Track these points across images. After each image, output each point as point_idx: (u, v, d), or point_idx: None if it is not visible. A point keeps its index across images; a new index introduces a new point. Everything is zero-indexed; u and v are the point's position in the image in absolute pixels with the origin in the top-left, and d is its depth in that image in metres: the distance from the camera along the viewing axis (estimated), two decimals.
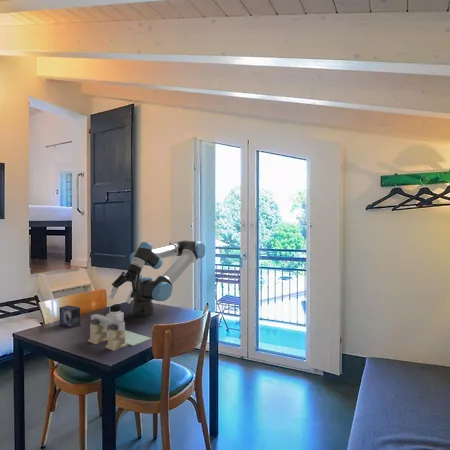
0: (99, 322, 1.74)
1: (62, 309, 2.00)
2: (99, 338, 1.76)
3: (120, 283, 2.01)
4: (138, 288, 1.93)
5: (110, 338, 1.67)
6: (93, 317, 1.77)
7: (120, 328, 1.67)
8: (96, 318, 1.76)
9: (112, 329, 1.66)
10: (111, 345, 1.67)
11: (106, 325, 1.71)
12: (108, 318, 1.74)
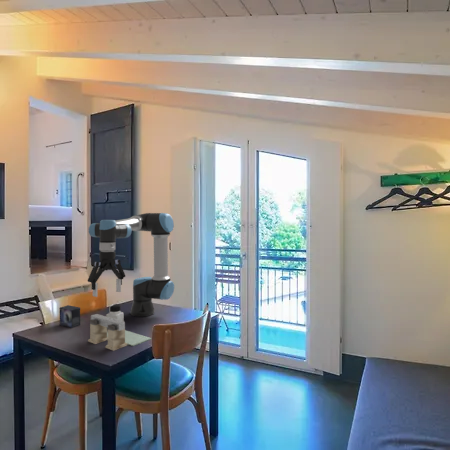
0: (99, 322, 1.74)
1: (62, 309, 2.00)
2: (99, 338, 1.76)
3: None
4: None
5: (110, 338, 1.67)
6: (93, 317, 1.77)
7: (120, 328, 1.67)
8: (96, 318, 1.76)
9: (112, 329, 1.66)
10: (111, 345, 1.67)
11: (106, 325, 1.71)
12: (108, 318, 1.74)
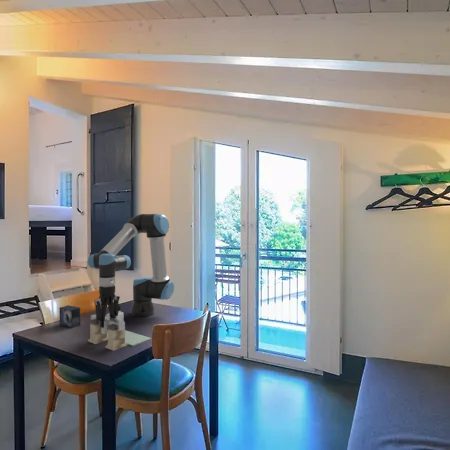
0: (99, 322, 1.74)
1: (62, 309, 2.00)
2: (99, 338, 1.76)
3: None
4: None
5: (110, 338, 1.67)
6: (93, 317, 1.77)
7: (120, 328, 1.67)
8: None
9: (112, 329, 1.66)
10: (111, 345, 1.67)
11: (106, 325, 1.71)
12: (108, 318, 1.74)
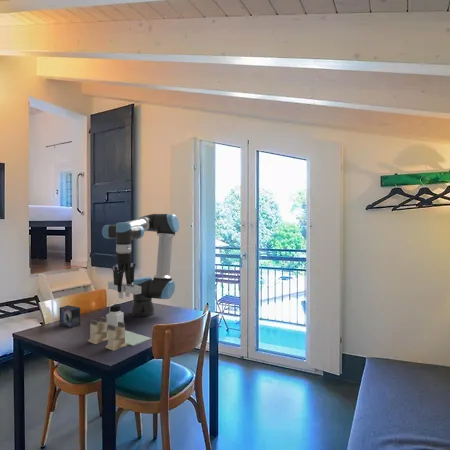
0: (116, 288, 1.83)
1: (62, 309, 2.00)
2: (99, 338, 1.76)
3: None
4: None
5: (110, 338, 1.67)
6: (110, 283, 1.85)
7: (137, 292, 1.75)
8: (113, 284, 1.84)
9: (112, 329, 1.66)
10: (111, 345, 1.67)
11: (123, 290, 1.79)
12: (125, 284, 1.82)
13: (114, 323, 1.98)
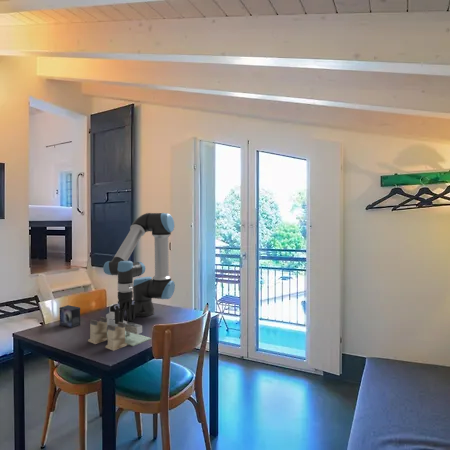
0: None
1: (62, 309, 2.00)
2: (99, 338, 1.76)
3: None
4: None
5: (110, 338, 1.67)
6: (111, 321, 1.86)
7: (138, 332, 1.76)
8: (114, 322, 1.85)
9: (112, 329, 1.66)
10: (111, 345, 1.67)
11: None
12: (126, 322, 1.83)
13: None
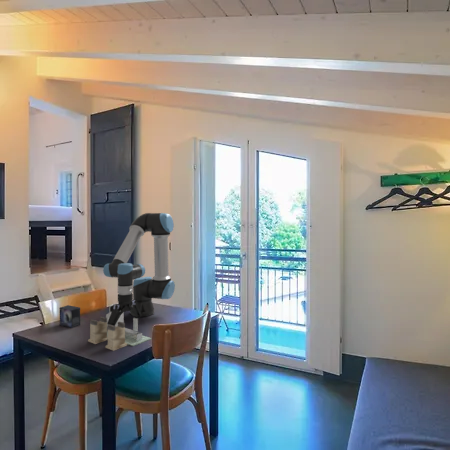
0: None
1: (62, 309, 2.00)
2: (99, 338, 1.76)
3: None
4: None
5: (110, 338, 1.67)
6: None
7: (138, 339, 1.76)
8: None
9: (112, 329, 1.66)
10: (111, 345, 1.67)
11: None
12: (126, 329, 1.83)
13: None
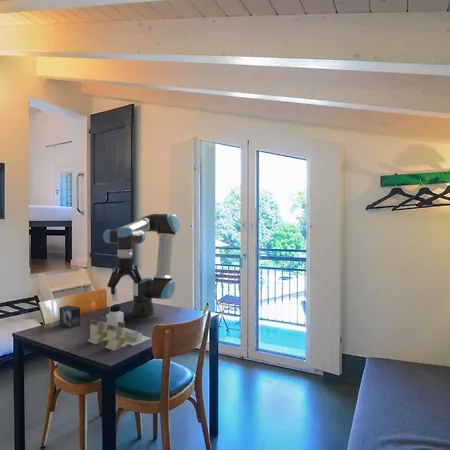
0: None
1: (62, 309, 2.00)
2: (99, 338, 1.76)
3: None
4: None
5: (110, 338, 1.67)
6: None
7: (138, 339, 1.76)
8: None
9: (112, 329, 1.66)
10: (111, 345, 1.67)
11: None
12: (126, 329, 1.83)
13: (114, 323, 1.98)
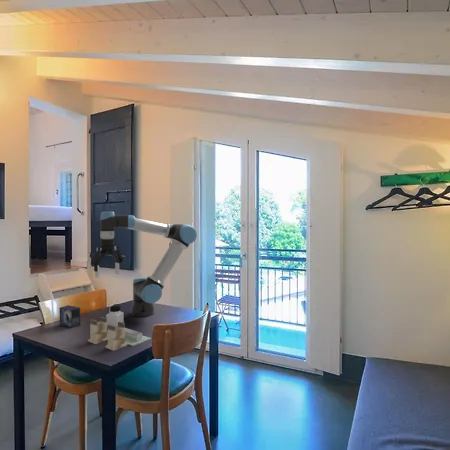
0: None
1: (62, 309, 2.00)
2: (99, 338, 1.76)
3: None
4: None
5: (110, 338, 1.67)
6: None
7: (138, 339, 1.76)
8: None
9: (112, 329, 1.66)
10: (111, 345, 1.67)
11: None
12: (126, 329, 1.83)
13: (114, 323, 1.98)
